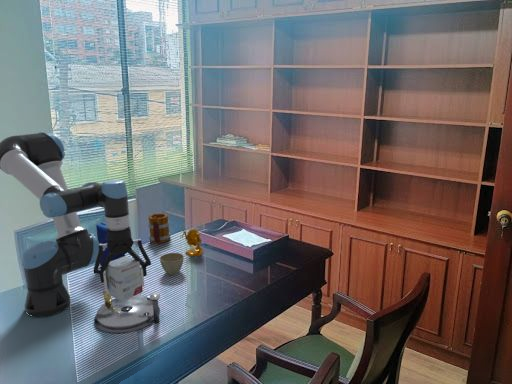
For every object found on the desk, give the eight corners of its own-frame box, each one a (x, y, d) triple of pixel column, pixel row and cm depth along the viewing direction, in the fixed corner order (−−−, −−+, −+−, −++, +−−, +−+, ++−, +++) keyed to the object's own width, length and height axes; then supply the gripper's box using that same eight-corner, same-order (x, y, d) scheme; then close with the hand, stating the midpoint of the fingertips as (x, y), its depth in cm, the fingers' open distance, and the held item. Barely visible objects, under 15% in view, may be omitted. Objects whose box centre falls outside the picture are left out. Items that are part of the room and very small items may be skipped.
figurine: (180, 256, 205) (179, 231, 202) (193, 247, 214) (192, 224, 211) (196, 258, 201) (195, 233, 198) (208, 250, 211) (207, 226, 208)
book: (97, 266, 195) (92, 223, 190) (108, 262, 199) (103, 220, 194) (118, 274, 187) (113, 229, 182) (128, 270, 191) (124, 226, 186)
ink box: (128, 285, 157) (125, 254, 154) (143, 292, 152) (140, 260, 149) (107, 294, 151) (103, 262, 148) (121, 302, 146) (118, 269, 143)
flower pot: (179, 278, 182) (178, 262, 180) (157, 277, 184) (155, 261, 182) (188, 268, 191) (187, 253, 189) (166, 267, 193) (165, 251, 191)
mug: (172, 235, 232) (170, 208, 228) (168, 247, 216) (165, 217, 212) (151, 236, 232) (149, 209, 228) (145, 248, 216) (143, 218, 212)
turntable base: (93, 339, 140) (90, 311, 138) (94, 306, 161) (91, 281, 158) (163, 325, 147) (161, 299, 145) (156, 296, 167) (154, 272, 165)
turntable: (130, 334, 141) (128, 315, 139) (84, 321, 149) (81, 303, 147) (168, 306, 158) (167, 288, 156) (125, 295, 166) (123, 278, 165)
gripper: (79, 235, 139) (87, 298, 144) (156, 225, 146) (161, 286, 151) (80, 228, 145) (88, 288, 151) (153, 219, 153) (158, 277, 158)
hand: (125, 287), depth 151 cm, fingers closed on ink box, 11 cm apart
